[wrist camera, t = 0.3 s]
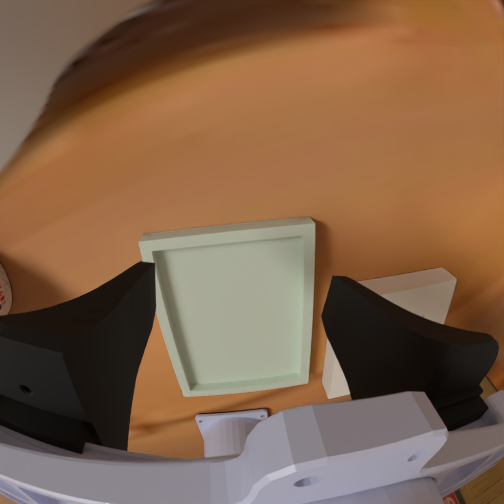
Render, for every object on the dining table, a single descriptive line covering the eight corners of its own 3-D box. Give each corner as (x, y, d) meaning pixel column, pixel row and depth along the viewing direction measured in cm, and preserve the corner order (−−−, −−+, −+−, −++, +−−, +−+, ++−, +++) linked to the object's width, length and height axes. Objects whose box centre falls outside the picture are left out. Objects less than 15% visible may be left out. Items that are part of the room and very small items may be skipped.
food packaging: (386, 422, 35) (444, 555, 13) (399, 385, 31) (479, 543, 9) (454, 392, 36) (520, 501, 13) (472, 353, 32) (558, 473, 9)
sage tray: (304, 372, 28) (308, 383, 26) (184, 385, 27) (183, 396, 26) (309, 216, 21) (315, 223, 20) (143, 234, 21) (138, 241, 19)
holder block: (416, 357, 29) (425, 371, 27) (321, 381, 29) (328, 398, 26) (442, 267, 25) (457, 279, 22) (331, 285, 24) (342, 301, 22)
